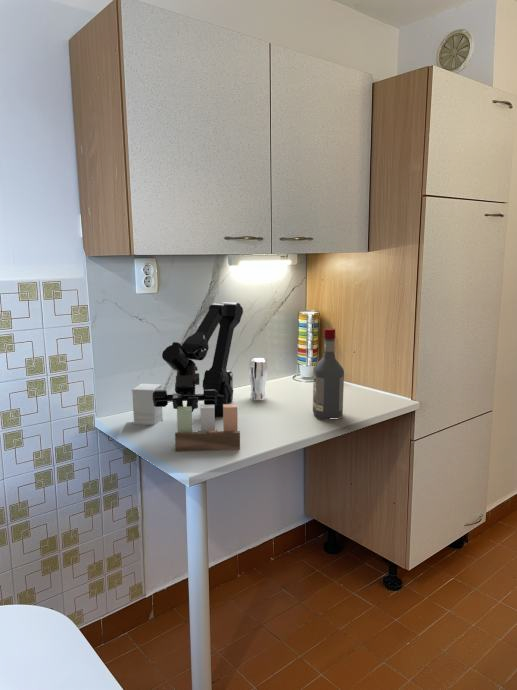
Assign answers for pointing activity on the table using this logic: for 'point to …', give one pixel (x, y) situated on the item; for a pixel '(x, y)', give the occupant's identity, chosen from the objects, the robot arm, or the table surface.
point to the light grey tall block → (207, 417)
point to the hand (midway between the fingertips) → (184, 424)
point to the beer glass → (258, 378)
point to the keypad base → (207, 440)
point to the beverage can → (230, 383)
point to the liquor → (328, 382)
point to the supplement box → (146, 405)
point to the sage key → (184, 419)
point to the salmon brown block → (230, 417)
